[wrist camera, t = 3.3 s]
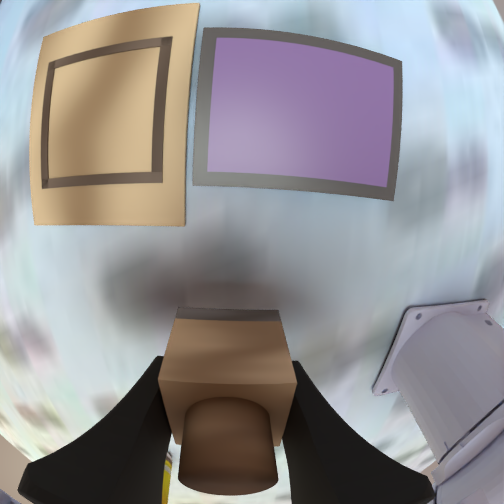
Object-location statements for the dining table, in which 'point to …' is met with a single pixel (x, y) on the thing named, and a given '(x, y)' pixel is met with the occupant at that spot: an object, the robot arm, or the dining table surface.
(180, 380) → the stamp
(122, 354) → the dining table surface
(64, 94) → the card sheet
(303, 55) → the ink pad
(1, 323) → the dining table surface
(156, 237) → the dining table surface
